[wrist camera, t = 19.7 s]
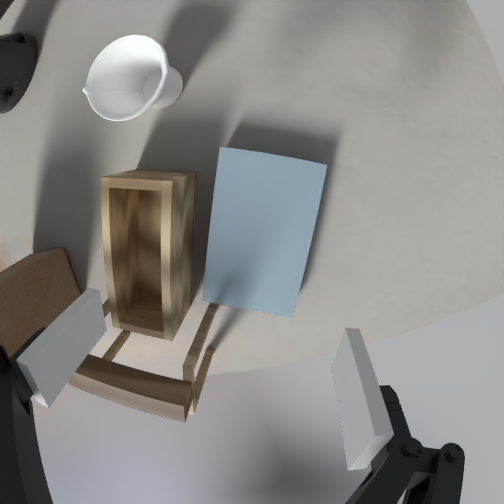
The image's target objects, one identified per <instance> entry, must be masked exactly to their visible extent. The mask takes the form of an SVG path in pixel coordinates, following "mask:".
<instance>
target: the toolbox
mask: <svg viewBox="0 0 504 504" xmlns="http://www.w3.org/2000/svg"><path fill="white" fill-rule="evenodd" d="M195 184H196V173H188V172H174V171H159V170H139V169H136V170H131V171H126V172H122V173H118V174H113V175H109V176H105V177H101V211H102V234H103V249H104V261H105V271H106V281H107V289H108V297H109V299H108V300H107V301H106V302H105V303H104V304H103V305H102V308H103V313H104V318H105V317H106V315H107V314H108V313H109V312H110V311H111V317H112V323H113V327H116V328H120V329H124V330H123V331H122V332H121V333H120V335H119V336H118V337H117V339H116V340H115V341H114V343H113V344H112V345H111V347H110V348H109V349H108V350H107V352H106V353H105V354H104V356H103V357H102V359H105V360H108V361H112V360H113V358H114V357H115V355H116V354H117V353H118V351H119V350H120V348H121V347H122V346H123V344H124V343H125V341H126V340H127V339H128V337H129V331H132V332H136V333H140V334H144V335H148V336H152V337H157V338H161V339H165V340H170V341H173V339H174V337H175V335H176V333H177V331H178V329H179V327H180V325H181V323H182V322H183V320H184V318H185V316H186V314H187V312H188V310H189V308H190V307H191V260H192V235H193V215H194V199H195ZM214 315H215V307H209V306H208V308H207V310H206V313H205V315H204V317H203V320H202V322H201V324H200V326H199V329H198V331H197V333H196V336H195V338H194V340H193V343H192V345H191V347H190V350H189V352H188V354H187V357H186V359H185V362H184V364H183V381H187V382H191V383H192V393H193V400H192V403H191V406H190V409H189V412H188V414H191V415H194V413H195V409H196V406H197V403H198V400H199V397H200V393H201V390H202V387H203V384H204V381H205V378H206V375H207V371H208V368H209V365H210V362H211V359H212V356H213V349H209V348H207V349H206V351H205V354H204V357H203V360H202V363H201V366H200V368H199V371H198V374H197V377H196V380H195V383H194V368H195V366H196V363H197V360H198V358H199V355H200V352H201V349H202V347H203V344H204V342H205V339H206V336H207V334H208V331H209V328H210V326H211V323H212V320H213V318H214ZM127 330H128V331H127Z"/></svg>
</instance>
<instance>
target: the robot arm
mask: <svg viewBox="0 0 504 504" xmlns="http://www.w3.org/2000/svg"><path fill="white" fill-rule="evenodd" d="M13 1H14V0H0V20H1V18H2V17H3V15H4V14H5V12H6V11H7V9H8V8H9V7H10V5H11V4H12V3H13ZM36 57H37V45H36V41H35V39H34V37H33V36H32V35H30V34H27V33H22V32H16V33H10V34H5V35H0V113H6V112H8V111H10V110H11V109H12V108H13V107H14V106H15V105H16V104H17V103H18V102H19V100H20V99H21V97H22V96H23V94H24V92H25V91H26V89H27V87H28V85H29V82H30V80H31V77H32V74H33V71H34V68H35V63H36ZM106 331H107V329H106V324H105V319H104V313H103V308H102V302H101V295H100V290H96V289H91V288H88V289H87V290H86V291H85V292H84V293H83V294H82V295H81V296H80V297H79V298H77V299H76V300H75V301H74V302H73V303H72V304H71V305H70V306H69V307H68V308H67V309H66V310H65V311H64V312H63V313H62V314H61V315H59V316H58V317H57V318H56V319H55V320H54V321H53V322H52V323H51V324H50V325H49V326H48V327H47V328H46V327H43V328H41V329H39V330H38V331H36V332H35V333H34V334H33V335H32V336H31V337H30V338H29V339H28V340H27V341H26V343H24V344H23V345H22V346H21V347H20V348H19V349H18V350H17V351H16V352H15V353H14V354H13V355H12V356H11V358H9V356H8V354H7V351H6V349H5V348H4V346H2V345H0V504H53V501H52V498H51V495H50V492H49V488H48V485H47V481H46V478H45V474H44V470H43V466H42V462H41V457H40V452H39V446H38V441H37V435H36V429H35V422H34V415H33V406H32V401H31V399H30V398H31V396H32V395H34V396H35V398H36V400H37V402H38V403H40V404H42V405H44V406H46V407H48V408H49V407H50V406H51V404H52V403H53V402H54V400H55V399H56V397H57V396H58V394H59V393H60V392H61V390H62V389H63V388H64V386H65V385H66V383H67V382H68V381H69V379H70V378H71V377H72V375H73V374H74V372H75V371H76V370H77V368H78V367H79V366H80V364H81V363H82V362H83V360H84V359H85V358H86V356H87V355H88V354H89V352H90V351H91V350H92V349H93V347H94V346H95V345H96V343H97V342H98V341H99V339H100V338H101V337H102V336H103V334H104V333H105V332H106ZM331 368H332V373H333V379H334V384H335V389H336V395H337V401H338V407H339V413H340V419H341V425H342V432H343V438H344V445H345V452H346V460H347V467H348V470H355V469H365V468H366V467H367V466H368V465H369V464H370V463H371V468H372V470H371V471H370V472H369V473H368V474H367V476H365V477H364V478H363V482H362V483H361V484H360V486H359V487H358V488H357V490H356V491H355V492H354V493H353V495H352V496H351V497H350V498H349V500H348V501H347V502H346V503H345V504H397V502H398V500H399V499H400V497H401V496H402V494H403V492H404V491H405V489H406V492H405V496H404V499H403V503H402V504H459V503H460V496H461V489H462V482H463V472H464V461H465V456H464V451H463V449H462V448H461V447H460V446H459V445H457V444H455V443H448V444H445V445H444V446H443V447H442V448H441V449H432V448H426V447H423V446H422V445H421V443H420V442H419V441H418V440H417V439H415V438H412V437H411V434H410V431H409V428H408V425H407V422H406V419H405V416H404V413H403V411H402V408H401V405H400V404H399V399H398V397H397V394H396V392H395V391H394V390H393V389H392V388H391V387H390V385H386V386H379V384H378V381H377V378H376V375H375V372H374V369H373V367H372V363H371V361H370V358H369V355H368V352H367V349H366V346H365V344H364V341H363V338H362V336H361V333H360V330H359V329H352V328H345V330H344V333H343V336H342V339H341V342H340V345H339V348H338V350H337V353H336V356H335V359H334V361H333V364H332V367H331Z"/></svg>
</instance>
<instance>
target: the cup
mask: <svg viewBox="0 0 504 504" xmlns="http://www.w3.org/2000/svg"><path fill="white" fill-rule="evenodd" d="M182 88H183V80H182V76H181V75H180V73H179V72H178V71H177V70H176V69H175V68H172V67H170V66H169V64H168V58H167V53H166V51H165V49H164V47H163V46H162V44H160V43H159V42H158V41H157V40H156V39H154V38H153V37H151V36H149V35H144V34H130V35H125V36H122V37H120V38H118V39H116V40H114V41H113V42H111V43H110V44H108V45H107V46H106V47H105V48H104V49H103V50H102V51H101V52H100V53H99V54H98V56H97V57H96V59H95V60H94V62H93V64H92V66H91V68H90V70H89V74H88V78H87V83H86V85H85V86H84V88H83V92H84V93H85V94H86V95H87V98H88V100H89V103H90V105H91V106H92V108H93V110H94V111H95V112H96V113H98V114H99V115H100V116H102V117H103V118H105V119H108V120H111V121H125V120H129V119H132V118H135V117H137V116H139V115H141V114H142V113H143V112H145V111H146V110H147V109H149V108H165V107H167V106H170V105H171V104H173V103H174V102H175V101H176V100H177V99H178V97H179V96H180V94H181V92H182Z"/></svg>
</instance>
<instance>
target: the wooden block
mask: <svg viewBox="0 0 504 504" xmlns="http://www.w3.org/2000/svg"><path fill="white" fill-rule="evenodd" d="M80 296H81V293H80V291H79V288H78V285H77V283H76V280H75V277H74V275H73V272H72V269H71V266H70V263H69V260H68V257H67V254H66V251H65V250H64V249H63V248H55V249H51V250H47V251H42V252H38V253H34V254H30V255H28V256H27V257H25V258H23V259H22V260H20V261H18V262H17V263H15V264H13V265H12V266H10V267H8V268H7V269H5V270H3V271H2V272H0V345H2V346H4V348H5V349H6V351H7V354H8V356H9V358H11V356H12V355H13V354H14V353H15V352H16V351H17V350H18V349H19V348H20V347H21V346H22V345H23V344H24V343H26V341H27V340H28V339H29V338H30V337H31V336H32V335H33V334H34V333H35V332H36V331H38V330H39V329H41V328H43V327H46V328H47V327H48V326H49V325H50V324H51V323H52V322H53V321H54V320H55V319H56V318H57V317H58V316H59V315H61V314H62V313H63V312H64V311H65V310H66V309H67V308H68V307H69V306H70V305H71V304H72V303H73V302H74V301H75V300H76V299H77V298H79V297H80Z"/></svg>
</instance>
